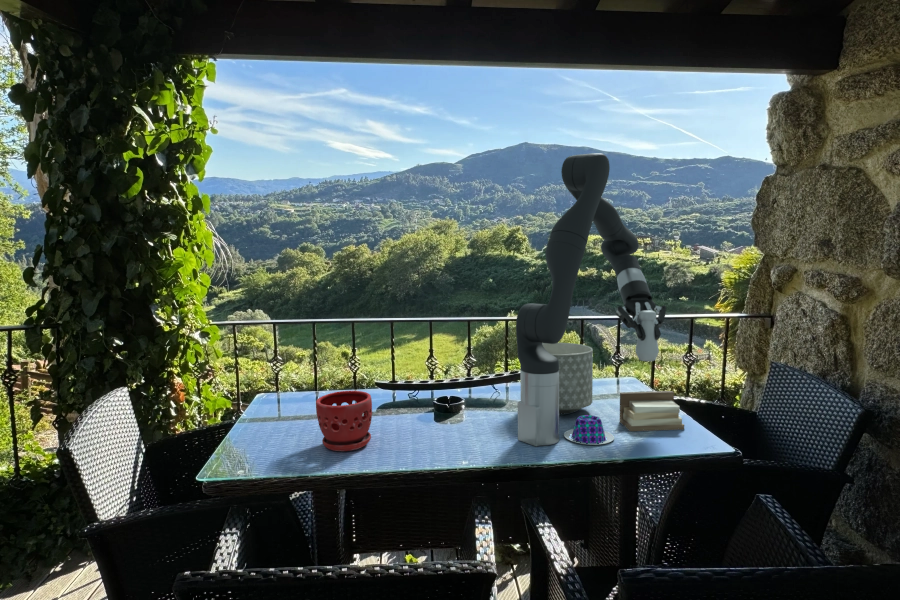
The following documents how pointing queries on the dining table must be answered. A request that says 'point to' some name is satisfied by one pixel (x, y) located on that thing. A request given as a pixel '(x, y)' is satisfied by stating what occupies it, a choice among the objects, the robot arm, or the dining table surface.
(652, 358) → the salt shaker
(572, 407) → the planter
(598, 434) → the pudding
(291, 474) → the dining table surface
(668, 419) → the offcut rack
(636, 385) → the dining table surface
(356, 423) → the plant pot
